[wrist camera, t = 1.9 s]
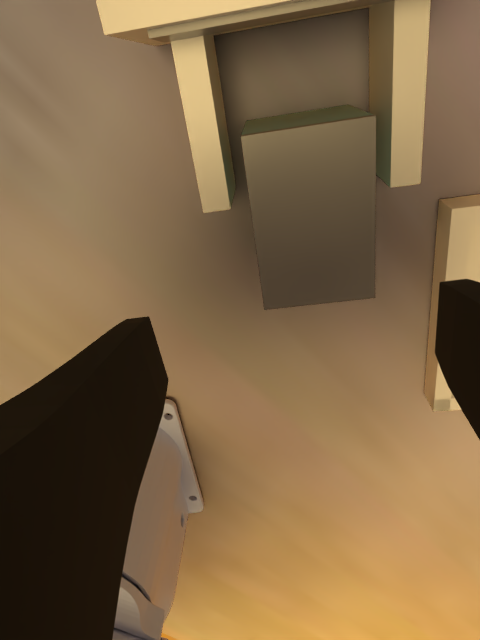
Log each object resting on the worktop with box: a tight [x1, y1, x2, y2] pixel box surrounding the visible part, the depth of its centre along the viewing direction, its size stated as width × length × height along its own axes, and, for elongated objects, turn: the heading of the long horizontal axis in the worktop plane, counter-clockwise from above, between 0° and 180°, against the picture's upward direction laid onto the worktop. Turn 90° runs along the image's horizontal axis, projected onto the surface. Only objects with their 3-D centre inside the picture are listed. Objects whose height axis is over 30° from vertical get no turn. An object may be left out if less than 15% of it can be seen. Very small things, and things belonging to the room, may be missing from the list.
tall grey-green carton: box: [241, 105, 376, 310], centre depth 17 cm, size 6×4×5 cm, turn 8°
